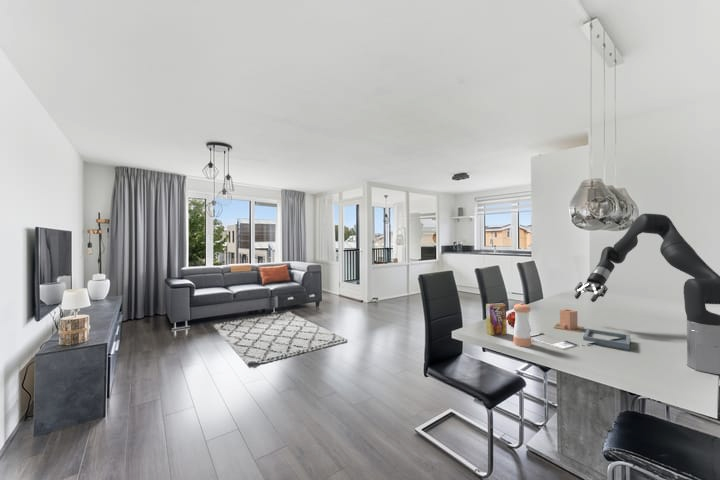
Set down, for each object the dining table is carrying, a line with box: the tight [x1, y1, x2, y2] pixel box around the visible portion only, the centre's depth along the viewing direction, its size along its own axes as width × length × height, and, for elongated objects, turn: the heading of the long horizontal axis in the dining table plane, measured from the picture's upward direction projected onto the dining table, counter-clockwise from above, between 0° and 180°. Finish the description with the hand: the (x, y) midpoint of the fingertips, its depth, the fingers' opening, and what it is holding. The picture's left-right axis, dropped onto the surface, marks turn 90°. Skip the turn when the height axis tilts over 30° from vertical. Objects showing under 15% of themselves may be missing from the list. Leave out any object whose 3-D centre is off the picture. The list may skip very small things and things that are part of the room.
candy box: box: [485, 302, 508, 336], centre depth 156 cm, size 9×4×15 cm, turn 96°
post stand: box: [553, 322, 585, 334], centre depth 159 cm, size 12×12×8 cm
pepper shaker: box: [512, 302, 532, 348], centre depth 140 cm, size 7×7×19 cm
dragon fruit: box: [506, 311, 515, 327], centre depth 168 cm, size 8×8×12 cm
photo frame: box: [530, 332, 579, 350], centre depth 144 cm, size 15×1×18 cm
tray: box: [582, 328, 631, 352], centre depth 141 cm, size 16×16×3 cm
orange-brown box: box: [559, 308, 579, 330], centre depth 159 cm, size 5×7×9 cm
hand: (583, 299), depth 163 cm, fingers open, 8 cm apart
